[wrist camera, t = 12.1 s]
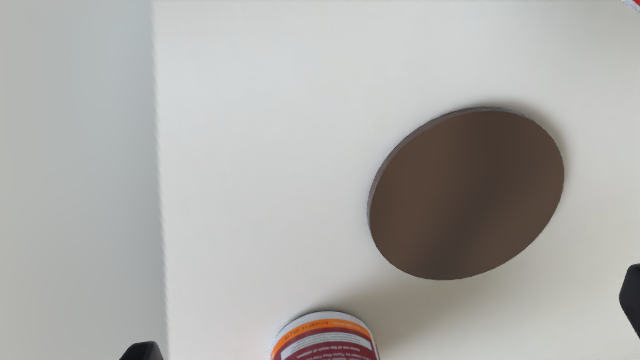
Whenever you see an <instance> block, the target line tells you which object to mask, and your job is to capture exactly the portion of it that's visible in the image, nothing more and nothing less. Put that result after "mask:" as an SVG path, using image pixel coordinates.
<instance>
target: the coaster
mask: <svg viewBox="0 0 640 360" xmlns="http://www.w3.org/2000/svg"><path fill="white" fill-rule="evenodd" d="M563 183H564V167H563V161H562V157H561V154H560V151H559V148H558V146H557V145H556V143H555V141H554V140H553V138H552V137H551V136H550V135H549V133H548V132H547V131H546V130H545V129H543V128H542V127H541V126H540V125H539V124H537V123H536V122H535V121H533V120H532V119H530V118H528V117H526V116H525V115H523V114H520V113H517V112H515V111H512V110H507V109H502V108H492V107H480V108H470V109H465V110H459V111H456V112H453V113H449V114H446V115H443V116H441V117H439V118H437V119H434V120H432V121H430V122H428V123H427V124H425V125H423V126H422V127H420V128H418V129H417V130H415V131H414V132H413V133H411V134H410V135H409V136H407V137H406V138H405V139H404V140H403V141H402V142H401V143H400V144H398V145H397V146H396V147H395V148H394V150H393V151H392V152H391V153H390V154H389V156H388V157H387V158H386V159H385V161H384V162H383V164H382V165H381V167H380V168H379V170H378V172H377V174H376V176H375V178H374V180H373V183H372V186H371V189H370V192H369V197H368V203H367V219H368V226H369V229H370V233H371V236H372V238H373V240H374V243H375V245H376V247H377V248H378V250H379V251H380V253H381V254H382V255H383V256H384V257H385V258H386V259H387V260H388V261H389V262H390V263H391V264H392V265H394V266H395V267H396V268H398V269H400V270H402V271H404V272H405V273H408V274H410V275H413V276H416V277H420V278H424V279H431V280H454V279H462V278H467V277H472V276H475V275H478V274H481V273H484V272H487V271H489V270H492V269H494V268H496V267H498V266H500V265H502V264H504V263H506V262H507V261H509V260H510V259H512V258H513V257H515V256H516V255H518V254H519V253H520V252H522V251H523V250H524V249H525V248H526V247H528V246H529V245H530V244H531V243H532V242H533V241H534V240H535V239H536V238H537V237H538V236H539V234H540V233H541V232H542V231H543V230H544V228H545V227H546V225H547V224H548V223H549V221H550V219H551V218H552V216H553V214H554V212H555V210H556V208H557V206H558V203H559V201H560V197H561V194H562V190H563Z"/></svg>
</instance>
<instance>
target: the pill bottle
mask: <svg viewBox="0 0 640 360" xmlns="http://www.w3.org/2000/svg"><path fill="white" fill-rule="evenodd" d="M270 360H380V357H379V354H378V350H377V346H376V343H375V340H374V338H373V335H372V333H371V331H370V330H369V328H368V327H367V326H366V325H365V324H364V323H363V322H362V321H360V320H359V319H357V318H355V317H353V316H351V315H348V314H345V313H341V312H332V311H323V312H315V313H311V314H308V315H305V316H303V317H300V318H298V319H296V320H294V321H293V322H291V323H290V324H288V325H287V326H286V327H285V328H283V329H282V330H281V331H280V333H279V334H278V335H277V337H276V338H275V340H274V342H273V344H272V347H271V354H270Z"/></svg>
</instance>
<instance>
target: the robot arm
mask: <svg viewBox="0 0 640 360" xmlns="http://www.w3.org/2000/svg"><path fill="white" fill-rule="evenodd" d="M619 301H620V305H621V307H622V309H623V311H624V313H625V314H626V316H627V318H628V320H629V321H630V323H631V325H632V326H633V328H634V330H635V332H636V333H637V335H638V337H639V338H640V263H639V264H634V265H631V266H630V267H629V268H628V270H627V273H626V276H625V279H624V282H623V285H622V288H621V291H620V294H619ZM119 360H163V357H162V355H161V352H160V349H159V347H158V345H157V343H156V342H155V341H147V342H141V343H135V344H133V345H131V346H130V347H129V348H128V349H127V350H126V352H125V353H124V354H123V356H122V357H121V358H120V359H119Z"/></svg>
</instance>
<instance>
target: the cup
mask: <svg viewBox="0 0 640 360" xmlns="http://www.w3.org/2000/svg"><path fill="white" fill-rule="evenodd" d="M620 1H622V2H623V3H625V4H627V5H628V6H630V7H632V8H633V9H635V10H637V11H638V12H640V0H620Z"/></svg>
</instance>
